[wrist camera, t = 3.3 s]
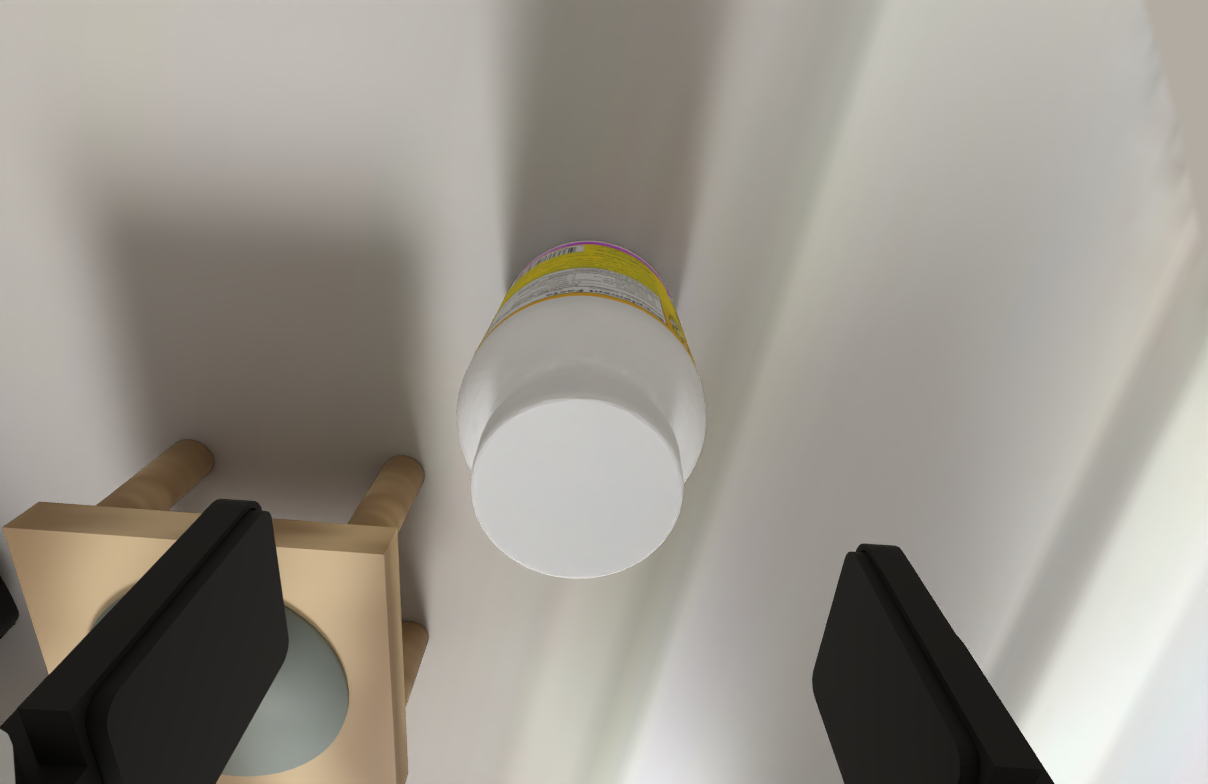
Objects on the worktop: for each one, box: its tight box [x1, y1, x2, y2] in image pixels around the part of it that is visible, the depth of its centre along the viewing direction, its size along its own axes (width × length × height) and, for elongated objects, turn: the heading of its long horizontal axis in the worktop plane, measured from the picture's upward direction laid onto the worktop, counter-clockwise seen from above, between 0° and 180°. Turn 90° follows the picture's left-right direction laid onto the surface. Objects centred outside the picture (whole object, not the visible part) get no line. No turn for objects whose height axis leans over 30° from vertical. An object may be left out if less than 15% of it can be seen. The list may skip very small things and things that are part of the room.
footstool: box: [2, 440, 429, 784], centre depth 27 cm, size 12×12×8 cm
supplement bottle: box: [457, 240, 706, 579], centre depth 21 cm, size 7×7×13 cm
